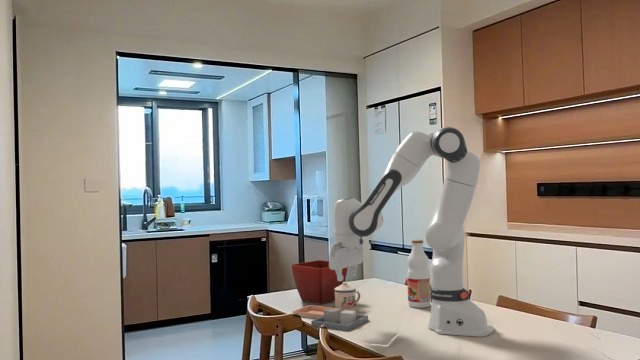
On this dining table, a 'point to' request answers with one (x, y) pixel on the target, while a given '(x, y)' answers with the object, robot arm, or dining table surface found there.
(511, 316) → the dining table surface
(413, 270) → the fruit juice
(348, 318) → the stone
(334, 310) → the stone
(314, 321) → the tray
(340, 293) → the teacup with lid
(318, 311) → the tray
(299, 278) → the plant pot
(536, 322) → the dining table surface
